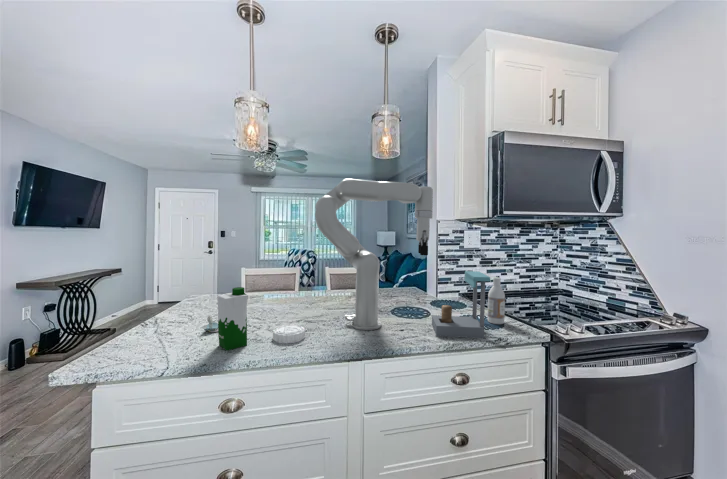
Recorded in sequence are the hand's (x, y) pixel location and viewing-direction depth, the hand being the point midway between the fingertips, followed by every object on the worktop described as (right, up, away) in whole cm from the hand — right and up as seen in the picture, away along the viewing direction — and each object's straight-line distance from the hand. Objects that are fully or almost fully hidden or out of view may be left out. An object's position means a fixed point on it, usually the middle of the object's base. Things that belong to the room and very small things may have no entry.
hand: (422, 254), depth 135 cm
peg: (+8, -31, -9) cm, 33 cm away
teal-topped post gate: (+19, -31, -11) cm, 38 cm away
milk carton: (-72, -31, -27) cm, 83 cm away
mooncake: (-54, -31, -18) cm, 65 cm away
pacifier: (-87, -31, -12) cm, 92 cm away
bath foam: (+33, -31, +2) cm, 45 cm away
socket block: (+12, -31, -10) cm, 34 cm away
